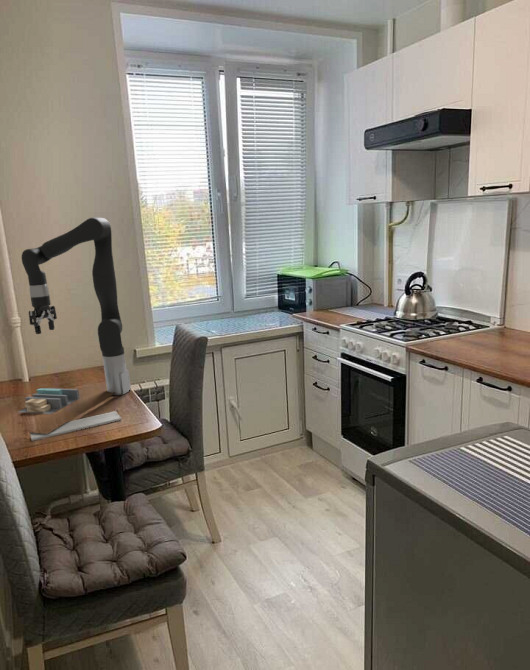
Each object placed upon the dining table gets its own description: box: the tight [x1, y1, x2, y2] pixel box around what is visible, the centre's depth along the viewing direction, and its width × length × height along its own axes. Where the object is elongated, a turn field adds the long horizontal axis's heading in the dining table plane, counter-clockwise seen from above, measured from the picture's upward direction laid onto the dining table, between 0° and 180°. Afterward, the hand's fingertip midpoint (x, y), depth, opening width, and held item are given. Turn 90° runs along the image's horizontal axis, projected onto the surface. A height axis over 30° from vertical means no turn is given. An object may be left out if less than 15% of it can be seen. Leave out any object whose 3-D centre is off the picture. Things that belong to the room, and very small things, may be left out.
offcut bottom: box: [26, 404, 51, 413], centre depth 201 cm, size 8×4×2 cm, turn 74°
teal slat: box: [36, 387, 63, 395], centre depth 212 cm, size 5×2×11 cm
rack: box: [18, 387, 81, 415], centre depth 207 cm, size 16×18×6 cm
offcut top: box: [24, 399, 47, 408], centre depth 201 cm, size 7×4×2 cm, turn 74°
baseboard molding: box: [29, 408, 122, 442], centre depth 188 cm, size 31×3×12 cm
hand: (45, 331), depth 222 cm, fingers open, 8 cm apart
